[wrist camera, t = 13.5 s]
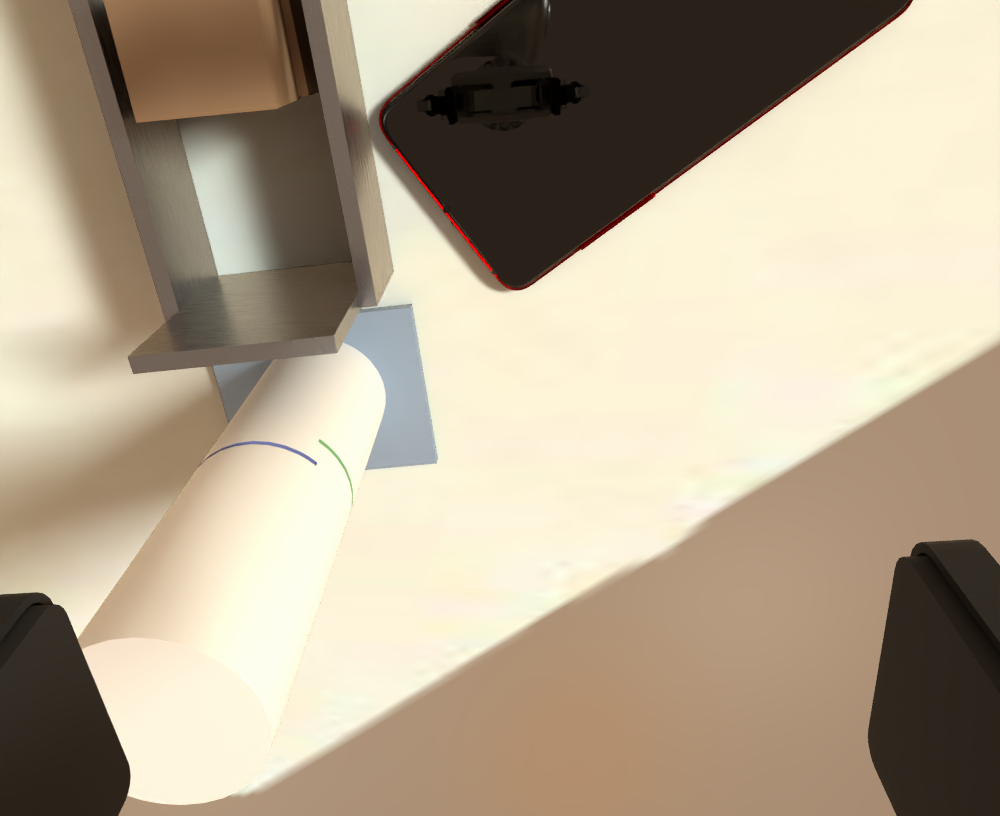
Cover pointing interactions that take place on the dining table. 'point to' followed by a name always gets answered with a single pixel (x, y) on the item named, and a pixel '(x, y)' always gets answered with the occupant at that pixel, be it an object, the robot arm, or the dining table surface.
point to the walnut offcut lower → (299, 47)
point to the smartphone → (601, 109)
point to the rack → (182, 234)
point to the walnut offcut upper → (202, 56)
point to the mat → (399, 364)
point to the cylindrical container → (235, 582)
